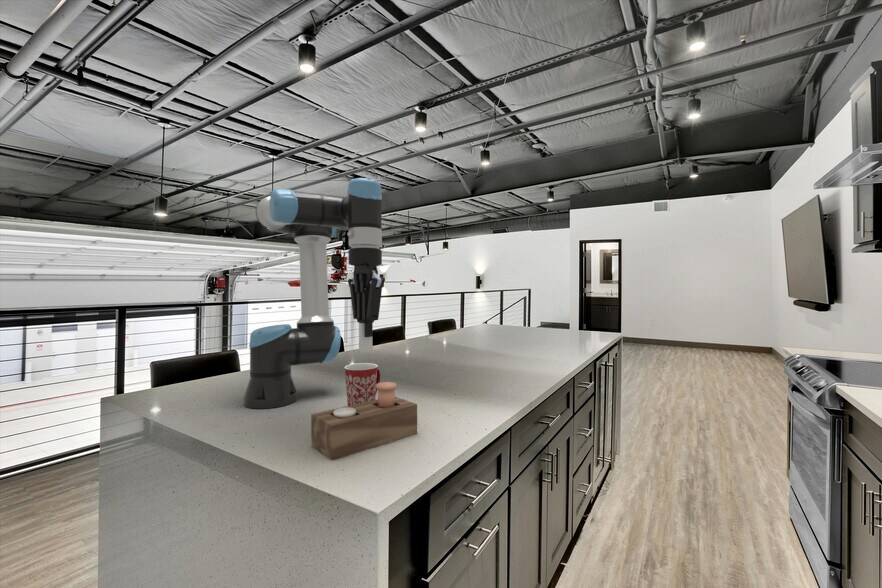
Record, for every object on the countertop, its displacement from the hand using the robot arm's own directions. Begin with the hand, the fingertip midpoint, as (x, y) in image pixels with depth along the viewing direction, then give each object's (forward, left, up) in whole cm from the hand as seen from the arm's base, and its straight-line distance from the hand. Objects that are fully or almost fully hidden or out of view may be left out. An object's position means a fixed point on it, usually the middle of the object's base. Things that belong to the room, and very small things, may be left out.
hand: (365, 350), depth 90 cm
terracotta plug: (0, +6, -15) cm, 16 cm away
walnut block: (0, 0, -21) cm, 21 cm away
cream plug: (0, -5, -19) cm, 20 cm away
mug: (-17, +10, -21) cm, 29 cm away
